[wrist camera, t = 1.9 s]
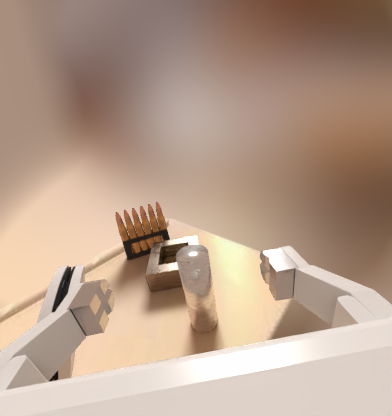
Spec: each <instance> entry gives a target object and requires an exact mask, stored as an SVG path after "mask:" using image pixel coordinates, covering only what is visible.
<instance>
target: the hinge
mask: <svg viewBox="0 0 392 416" xmlns="http://www.w3.org/2000/svg"><path fill="white" fill-rule="evenodd" d="M79 283H85V267H84V265H76V267H73V269H72V271H71V267H69V266H64V267H60V268H59V269H58V270H57V272H56V273H55V275H54V277H53V279H52V281H51V283H50V286H49V288H48V291H47V294H46V296H45V299H44V302H43V305H42V308H41V311H40V314H39V318H38V321H37V323H39V322H40V321H41V320H43V319H44V318H45V317H46V316H48V315H49V314H50V313H53V312H55V311H56V310H57V308H58V307H59V305H60V304H61V302H62V301H63V299H64V298H65V297H66V295H67V294H68V292H69V291H70V289H71V288H72V286H73V285H75V284H79ZM74 357H75V351H74V352H73V353H72V354H71V355H70V357H69V358H68V359H67V360H66V361H65V363H64V364H63V365H62V366H61V367H60V368H59V370H58V371H57V372H56V373H55V374H54V381H56V380H61V379H66V378H71V376H72V370H73V363H74ZM51 380H52V378H51V379H50V380H49V382H50V381H51Z"/></svg>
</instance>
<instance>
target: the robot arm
mask: <svg viewBox="0 0 392 416" xmlns="http://www.w3.org/2000/svg"><path fill="white" fill-rule="evenodd" d="M260 258H261V260H262V263H261V264H260V269H261V274H262V277H263V279H264V281H265V283H267V284H269V290H270V292H271V293H272V295H273V297H274V298H275V300H283V299H289V298H293V299H294V300H296V301H297V302H299V303H300V304H301V305H303V306H304V307H306V308H307V309H309V310H310V311H311V312H313V313H314V314H316V315H317V316H318V317H320V318H321V319H323V320H324V321H326V322H327V323H328V324H330V325H331V326H332V328H331V329H327V330H322V331H316V332H311V333H306V334H301V335H295V336H289V337H284V338H279V339H273V340H268V341H263V342H258V343H252V344H247V345H242V346H237V347H231V348H226V349H221V350H215V351H210V352H205V353H199V354H194V355H189V356H183V357H178V358H173V359H167V360H162V361H157V362H151V363H146V364H141V365H135V366H130V367H125V368H119V369H114V370H109V371H103V372H98V373H93V374H87V375H82V376H77V377H72V378H66V379H61V380H56V381H50V382H49V380H50V379H51V378H52V377H53V375H54V374H55V373H56V372H57V371H58V370H59V368H60V367H61V366H62V365H63V364H64V363H65V361H66V360H67V359H68V358H69V357H70V355H71V354H72V353H73V352H74V351H75V350H76V348H77V347H78V346H79V345H80V344H81V343H82V341H83V340H84V339H85V338H86V336H89V335H94V334H98V333H103V332H104V331H105V328H106V326H107V323H108V320H109V318H108V316H107V315H108V314H109V313H110V312H111V311H112V309H113V307H114V294H113V292H112V291H111V290H109V289H108V287H109V283H108V281H107V280H105V279H104V280H97V281H91V282H85V283H79V284H75V285H73V286H72V288H71V289H70V291H69V292H68V294H67V295H66V297H65V298H64V299H63V301H62V302H61V304H60V305H59V307H58V308H57V310H56V311H55V312H53V313H50V314H49V315H48V316H46V317H45V318H44V319H43V320H41V321H40V322H39V323H37V324H36V325H35V326H33V327H32V328H31V329H29V330H28V331H27V332H25V333H24V334H23V335H21V336H20V337H19V338H18V339H16V340H15V341H14V342H12V343H11V344H10V345H8V346H7V347H6V348H4V349H3V350H2V351H0V416H392V305H391V304H390V303H389V302H388V301H386V300H385V299H384V298H383V297H381V296H380V295H379V294H378V293H377V292H375V291H374V290H373V289H370V288H368V287H365V286H363V285H360V284H358V283H355V282H353V281H350V280H348V279H345V278H343V277H341V276H338V275H336V274H333V273H331V272H328V271H326V270H323V269H320V268H318V267H316V266H313V265H311V266H309V265H308V264H307V262H306V261H305V260H304V259H302V258H301V256H300V255H299V254H298V253H297V252H296V251H295V250H294V249H293V248H292V247H291V246H285V247H280V248H276V249H271V250H266V251H261V252H260Z"/></svg>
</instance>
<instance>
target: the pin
mask: <svg viewBox="0 0 392 416" xmlns="http://www.w3.org/2000/svg"><path fill="white" fill-rule="evenodd" d="M176 261H177V265H178V269H179V274H180V278H181V282H182V286H183V291H184V295H185V299H186V304H187V308H188V312H189V316H190V321H191V325H192V327H193V328H194V329H195V330H196V331H197V332H200V333H207V332H210V331H211V330H213V329H214V328H215V326H216V325H217V321H218V318H217V311H216V304H215V297H214V290H213V283H212V276H211V269H210V262H209V255H208V250H207V249H206V248H205V247H204V246H202V245H197V244H193V245H188V246H185V247H183V248H181V249H180V250H179V251H178V252H177V254H176Z"/></svg>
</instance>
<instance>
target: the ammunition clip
mask: <svg viewBox="0 0 392 416" xmlns="http://www.w3.org/2000/svg"><path fill="white" fill-rule="evenodd" d="M148 212H149V217H150V223H149V221H148V218H147V216H146V213H145V210H144V209H143V207H142V206H140V213H141V218H142V224H141V222H140V220H139V217H138V214H137V212H136V211H135V209H134V208H132V215H133V219H134V225H135V228H134V225H133V224H132V221H131V219H130V216H129V214H128V213H127V211H126V210H124V217H125V222H126V225H127V229H126V228H125V226H124V223H123V221H122V219H121V217H120V215H119V214H118V213H117V212H116V221H117V224H118V228H119V233H120V236H121V239H122V241H123V245H124V249H125V252H126V255H127V259H128V260H131V259H134V258H137V257H140V256H143V255H146V254H149V253H150V252H151V248H152V244H153V243H155V242H161V241H162V240H163V241H167V240H170V238H169V235H168V231H167V227H166V223H165V219H164V217H163V214H162V210H161V208H160V205H159V204H158V202H156V212H157V216H158V217H157V218H158V222H157V219H156V217H155V214H154V211H153V209H152V207H151V205H150V204H148ZM150 224H151V226H150ZM158 224H159V226H158ZM142 225H143V227H142ZM143 228H144V230H143ZM151 228H152V230H151ZM135 229H136V231H135ZM127 231H128V232H127ZM136 232H137V234H136ZM128 234H129V235H128ZM161 236H162V238H161ZM146 239H147V240H146ZM154 239H155V240H154ZM139 242H140V243H139ZM147 242H148V243H147ZM140 245H141V246H140ZM132 246H133V247H132Z"/></svg>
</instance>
